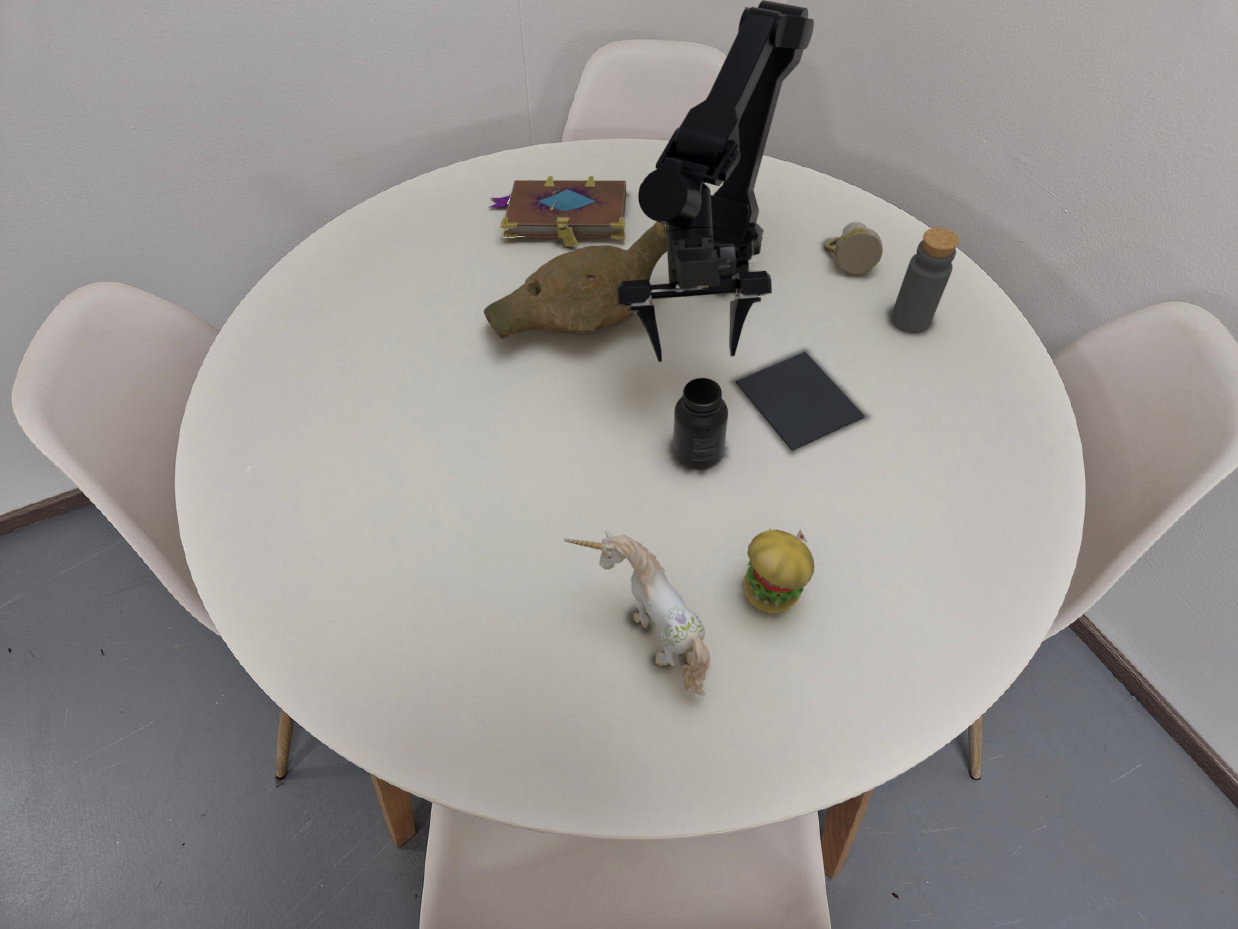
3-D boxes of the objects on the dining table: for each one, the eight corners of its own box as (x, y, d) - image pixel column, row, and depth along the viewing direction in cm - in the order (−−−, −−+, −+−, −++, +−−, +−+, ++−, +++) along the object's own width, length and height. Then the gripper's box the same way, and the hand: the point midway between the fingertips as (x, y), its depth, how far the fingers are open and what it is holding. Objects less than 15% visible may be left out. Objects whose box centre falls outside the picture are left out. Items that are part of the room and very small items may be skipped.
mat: (735, 382, 110) (735, 380, 110) (804, 352, 113) (805, 351, 112) (791, 450, 102) (792, 449, 102) (864, 417, 105) (864, 415, 105)
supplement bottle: (731, 440, 104) (739, 380, 94) (713, 478, 100) (719, 420, 90) (684, 424, 106) (687, 364, 96) (664, 461, 102) (666, 403, 92)
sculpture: (481, 313, 106) (653, 183, 106) (478, 311, 121) (629, 198, 122) (541, 392, 109) (706, 266, 110) (531, 380, 124) (677, 270, 125)
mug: (871, 236, 128) (898, 210, 118) (857, 290, 127) (883, 268, 117) (829, 223, 127) (853, 195, 118) (815, 276, 126) (838, 253, 116)
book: (493, 195, 139) (488, 170, 135) (628, 196, 138) (628, 170, 134) (478, 249, 129) (473, 223, 125) (624, 250, 127) (624, 224, 124)
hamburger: (726, 585, 91) (736, 533, 81) (770, 552, 93) (785, 498, 84) (772, 633, 87) (788, 585, 78) (817, 597, 90) (837, 546, 80)
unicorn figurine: (614, 556, 94) (610, 497, 83) (739, 661, 86) (752, 610, 75) (572, 595, 91) (562, 539, 80) (697, 707, 83) (704, 661, 72)
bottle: (927, 306, 117) (960, 225, 105) (933, 333, 114) (967, 252, 102) (888, 305, 118) (916, 223, 106) (893, 332, 115) (922, 250, 102)
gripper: (615, 226, 86) (625, 366, 88) (780, 215, 86) (785, 354, 89) (613, 240, 97) (621, 363, 99) (759, 229, 97) (764, 353, 100)
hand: (696, 359), depth 97 cm, fingers open, 9 cm apart
